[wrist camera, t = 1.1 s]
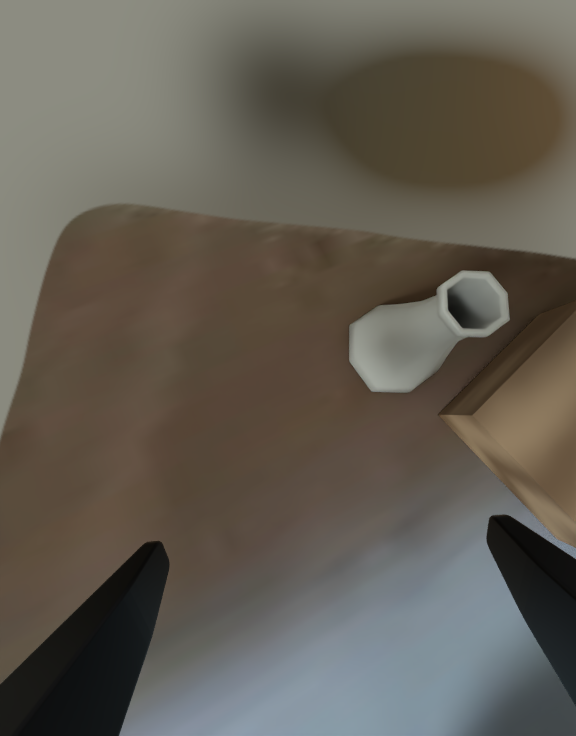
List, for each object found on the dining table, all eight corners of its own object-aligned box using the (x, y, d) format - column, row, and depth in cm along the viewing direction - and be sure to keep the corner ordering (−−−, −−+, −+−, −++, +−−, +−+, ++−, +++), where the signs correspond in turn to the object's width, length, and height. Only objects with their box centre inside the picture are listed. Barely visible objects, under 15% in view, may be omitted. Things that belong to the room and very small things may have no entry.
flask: (418, 295, 24) (517, 211, 14) (450, 379, 23) (581, 355, 13) (334, 319, 23) (373, 250, 13) (363, 406, 22) (429, 403, 12)
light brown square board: (655, 425, 22) (736, 429, 18) (556, 538, 21) (621, 568, 17) (538, 314, 23) (591, 294, 19) (437, 414, 22) (472, 415, 18)
